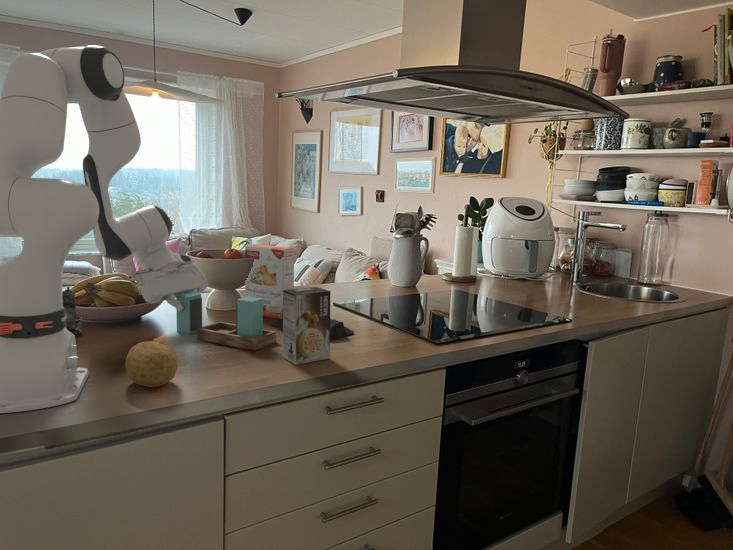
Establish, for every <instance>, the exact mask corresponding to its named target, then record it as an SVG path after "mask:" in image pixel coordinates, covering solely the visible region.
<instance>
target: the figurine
mask: <svg viewBox="0 0 733 550" xmlns="http://www.w3.org/2000/svg"><path fill="white" fill-rule="evenodd" d="M62 305H63V307H64V308H65V312H66V317H67V318H66V329H67V330H68V331H69V332H71V333H72V334H76V333H80V332H81V333H82V332H83V331H82V330H81V329H80V328H79V327H80V326H81V324H82V320H83V316H79V315H78V314H77V308H76V307H77V305H78V303H77V302H76V292H75V291H74V290H72V289H71V288H70V286H67V287H66V289H65V290H62ZM81 333H80V334H81ZM76 335H77V334H76Z"/></svg>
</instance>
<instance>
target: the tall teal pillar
mask: <svg viewBox="0 0 733 550" xmlns="http://www.w3.org/2000/svg"><path fill="white" fill-rule="evenodd" d="M175 299H177V300H178V301H179V302H180V303H181V302H183V303H184V305H185V306H186V309H184V311H181V312H178V311H177V310H176V332H177V333H181V334H185V335H192V334H197V328H200V327H203V298H202V293H192V292H186V293H181V294H177V295H176V298H175Z"/></svg>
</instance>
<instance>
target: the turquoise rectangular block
mask: <svg viewBox="0 0 733 550" xmlns="http://www.w3.org/2000/svg"><path fill="white" fill-rule="evenodd" d="M235 307H236V309H235V310H236V312H235V314H236V315H235V318H236V319H235V321H236V335H239V336H244V337H250V338H257V337H260V336H262V335H263V329H264V328H263V326H264V324H263V323H264V316H263V299H262V298H255V297H249V296H248V297H245V296H244V297H242V298H238V299H237V302H236V306H235Z"/></svg>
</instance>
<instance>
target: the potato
mask: <svg viewBox="0 0 733 550" xmlns="http://www.w3.org/2000/svg"><path fill="white" fill-rule="evenodd" d="M124 364H125V372H126V373H125V374H126V376H127V377H128V378H129V380H131V381H132V382H133V383H134V384H137V385H139V386H143V387H146V388H147V387H149V388H157V387H163V386H164V385H166V384H167V383H168V382H169V381H171V380H173V378H175V376H176V374H177V373H176V372H177V369H178V359H177V355H176V353H175V351H174V350H173V348H171V347H170V346H168V345H166V344H162V343H160V342H157V341H153V340H152V341H151V340H149V341H141V342H138V343H137V344H135V345H133V346H132V347H131V348H130V349H129V352H128V353H127V356H126V359H125V363H124Z"/></svg>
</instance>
